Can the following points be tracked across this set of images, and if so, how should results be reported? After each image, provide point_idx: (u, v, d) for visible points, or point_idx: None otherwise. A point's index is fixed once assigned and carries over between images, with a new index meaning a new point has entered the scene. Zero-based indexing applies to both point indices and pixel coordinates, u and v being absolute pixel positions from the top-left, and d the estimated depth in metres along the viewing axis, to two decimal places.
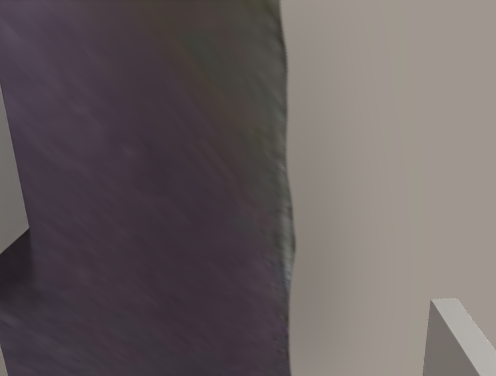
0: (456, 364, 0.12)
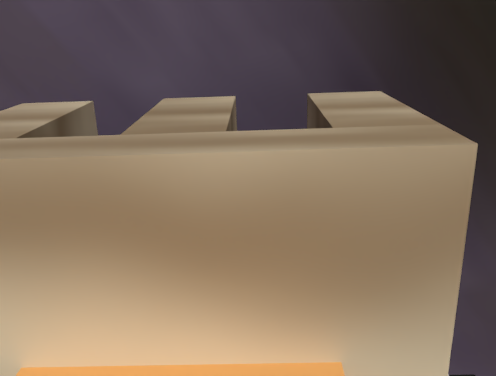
0: None
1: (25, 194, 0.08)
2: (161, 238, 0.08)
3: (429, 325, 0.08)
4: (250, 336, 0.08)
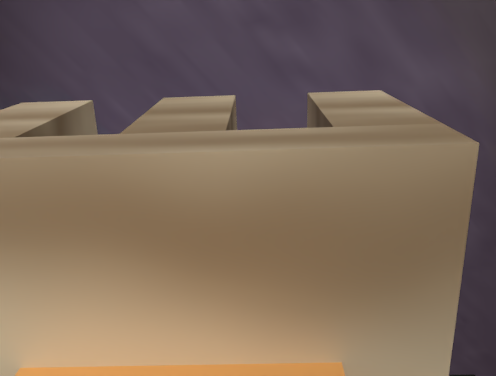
0: None
1: (24, 193, 0.08)
2: (160, 238, 0.08)
3: (430, 325, 0.08)
4: (250, 336, 0.08)
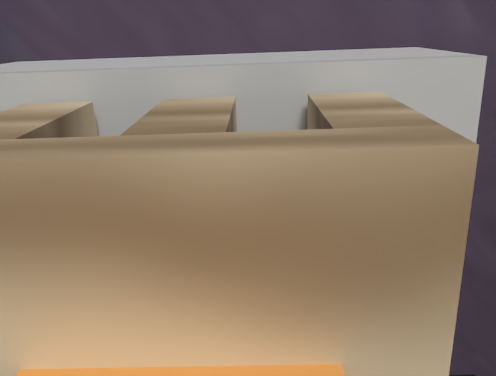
0: None
1: (24, 195, 0.08)
2: (161, 239, 0.08)
3: (430, 327, 0.08)
4: (250, 338, 0.08)
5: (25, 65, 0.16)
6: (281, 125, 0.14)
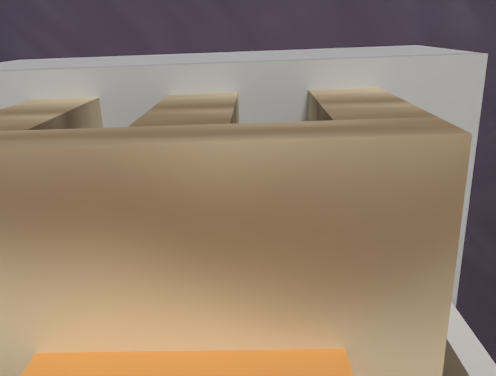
0: (444, 359, 0.12)
1: (37, 182, 0.08)
2: (168, 225, 0.08)
3: (426, 310, 0.09)
4: (253, 321, 0.09)
5: (26, 63, 0.16)
6: None
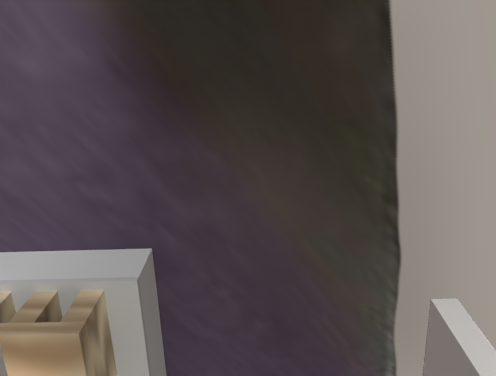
0: (456, 364, 0.12)
1: None
2: (14, 351, 0.35)
3: (79, 370, 0.35)
4: (38, 373, 0.35)
5: None
6: (73, 299, 0.40)
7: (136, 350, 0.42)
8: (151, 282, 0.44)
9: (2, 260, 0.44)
